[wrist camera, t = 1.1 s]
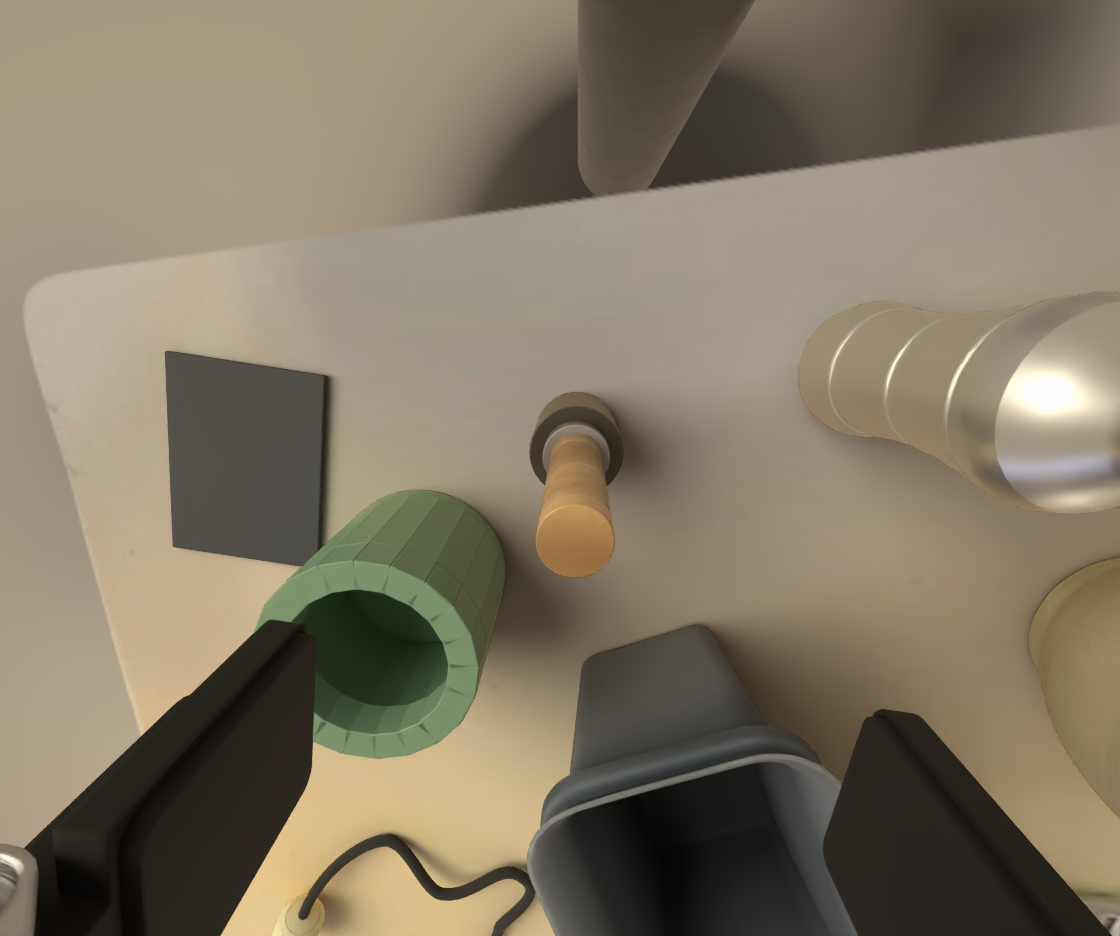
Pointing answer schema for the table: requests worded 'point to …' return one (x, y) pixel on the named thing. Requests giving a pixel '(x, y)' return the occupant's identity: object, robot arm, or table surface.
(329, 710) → the jar
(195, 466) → the mat
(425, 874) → the cable
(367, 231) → the table surface
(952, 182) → the table surface
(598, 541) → the brush
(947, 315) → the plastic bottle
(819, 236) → the table surface
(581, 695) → the storage bin
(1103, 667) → the planter bowl
